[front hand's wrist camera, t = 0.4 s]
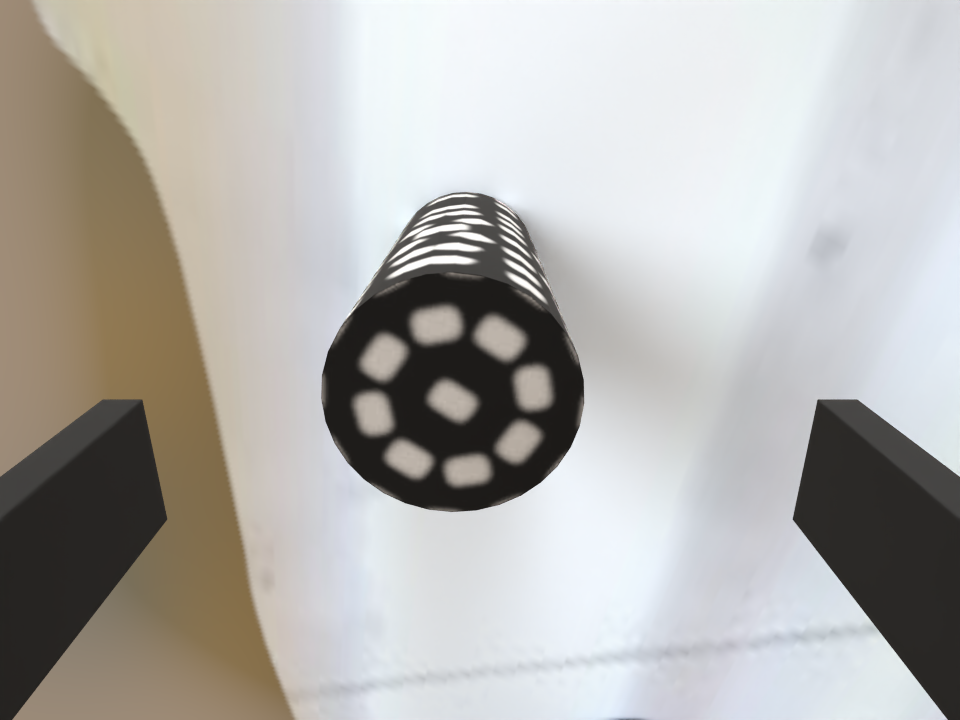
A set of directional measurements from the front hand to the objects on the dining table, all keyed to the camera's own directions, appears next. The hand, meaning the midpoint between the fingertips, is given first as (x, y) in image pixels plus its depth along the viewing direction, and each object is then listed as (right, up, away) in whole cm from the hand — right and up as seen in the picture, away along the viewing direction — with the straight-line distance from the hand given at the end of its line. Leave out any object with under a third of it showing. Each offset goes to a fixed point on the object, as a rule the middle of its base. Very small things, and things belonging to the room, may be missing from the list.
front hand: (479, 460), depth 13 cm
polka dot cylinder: (-1, +4, +17) cm, 17 cm away
